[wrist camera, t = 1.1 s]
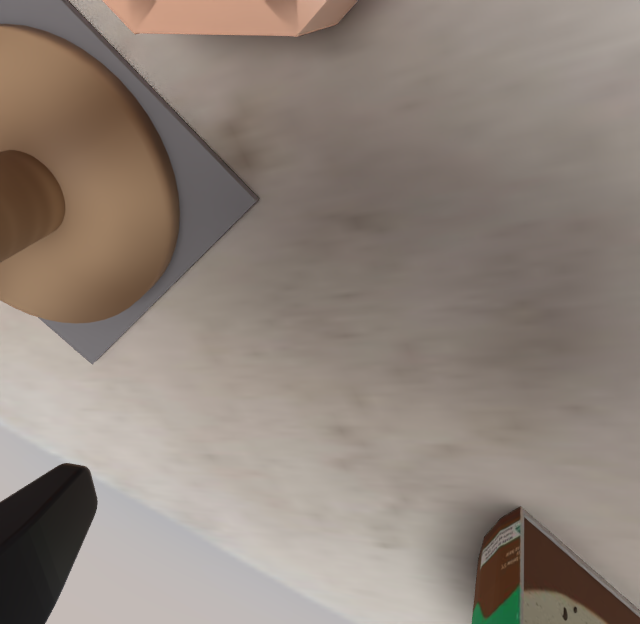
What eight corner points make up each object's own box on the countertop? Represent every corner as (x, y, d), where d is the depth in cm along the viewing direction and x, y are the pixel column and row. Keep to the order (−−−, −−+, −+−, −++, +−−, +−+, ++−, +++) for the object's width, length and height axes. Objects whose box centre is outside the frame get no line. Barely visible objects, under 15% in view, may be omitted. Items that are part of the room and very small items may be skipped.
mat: (259, 198, 20) (256, 201, 20) (95, 360, 26) (92, 364, 26) (-15, -85, 18) (-22, -86, 17) (-126, 167, 24) (-133, 169, 23)
